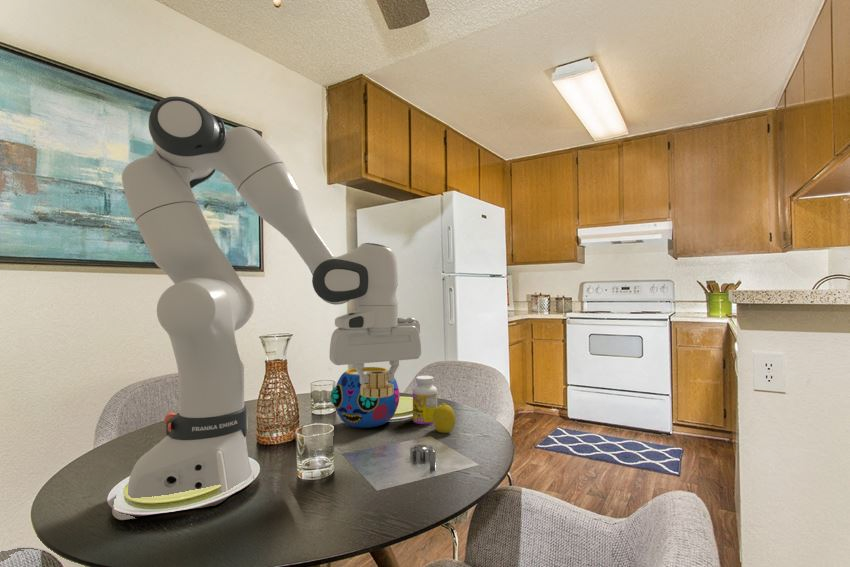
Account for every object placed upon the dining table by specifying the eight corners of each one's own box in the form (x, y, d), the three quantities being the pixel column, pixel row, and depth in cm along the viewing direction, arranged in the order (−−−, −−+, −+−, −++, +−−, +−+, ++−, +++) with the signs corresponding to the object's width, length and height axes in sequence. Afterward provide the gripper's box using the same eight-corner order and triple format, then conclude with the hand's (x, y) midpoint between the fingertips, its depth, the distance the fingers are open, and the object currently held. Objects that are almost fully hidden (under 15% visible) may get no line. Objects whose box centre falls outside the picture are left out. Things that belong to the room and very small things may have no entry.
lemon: (455, 431, 110) (455, 400, 110) (455, 439, 105) (454, 406, 105) (434, 431, 111) (433, 400, 111) (432, 438, 105) (431, 406, 105)
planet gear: (367, 399, 88) (367, 376, 88) (356, 392, 94) (356, 371, 95) (398, 395, 92) (398, 373, 92) (385, 389, 98) (385, 368, 98)
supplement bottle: (408, 423, 118) (407, 376, 118) (429, 419, 121) (428, 373, 121) (420, 430, 112) (420, 380, 112) (442, 425, 115) (441, 377, 116)
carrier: (376, 497, 76) (376, 470, 76) (341, 459, 93) (341, 437, 93) (479, 470, 86) (479, 447, 86) (430, 441, 104) (430, 421, 104)
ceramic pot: (320, 432, 111) (319, 374, 111) (356, 414, 128) (356, 363, 128) (379, 440, 104) (379, 378, 105) (410, 420, 121) (409, 366, 121)
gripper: (413, 316, 101) (413, 375, 101) (327, 319, 91) (327, 384, 91) (426, 318, 96) (426, 380, 95) (336, 320, 86) (335, 390, 86)
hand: (377, 382), depth 93 cm, fingers closed on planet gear, 4 cm apart
